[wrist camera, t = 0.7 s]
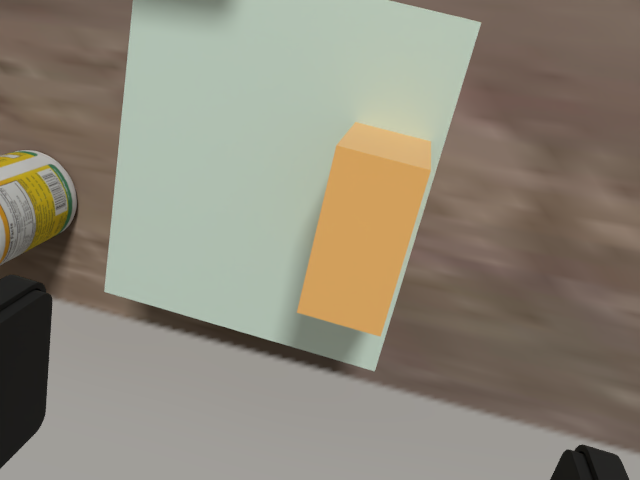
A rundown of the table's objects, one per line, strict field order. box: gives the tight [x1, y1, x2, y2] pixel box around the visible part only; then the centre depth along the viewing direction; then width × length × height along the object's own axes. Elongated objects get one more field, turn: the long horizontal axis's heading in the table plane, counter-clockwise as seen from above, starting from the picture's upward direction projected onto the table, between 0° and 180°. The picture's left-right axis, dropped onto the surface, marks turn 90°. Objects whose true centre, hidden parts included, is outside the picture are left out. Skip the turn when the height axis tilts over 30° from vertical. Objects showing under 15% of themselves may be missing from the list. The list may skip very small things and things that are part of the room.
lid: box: [104, 0, 481, 371], centre depth 23 cm, size 13×15×7 cm
